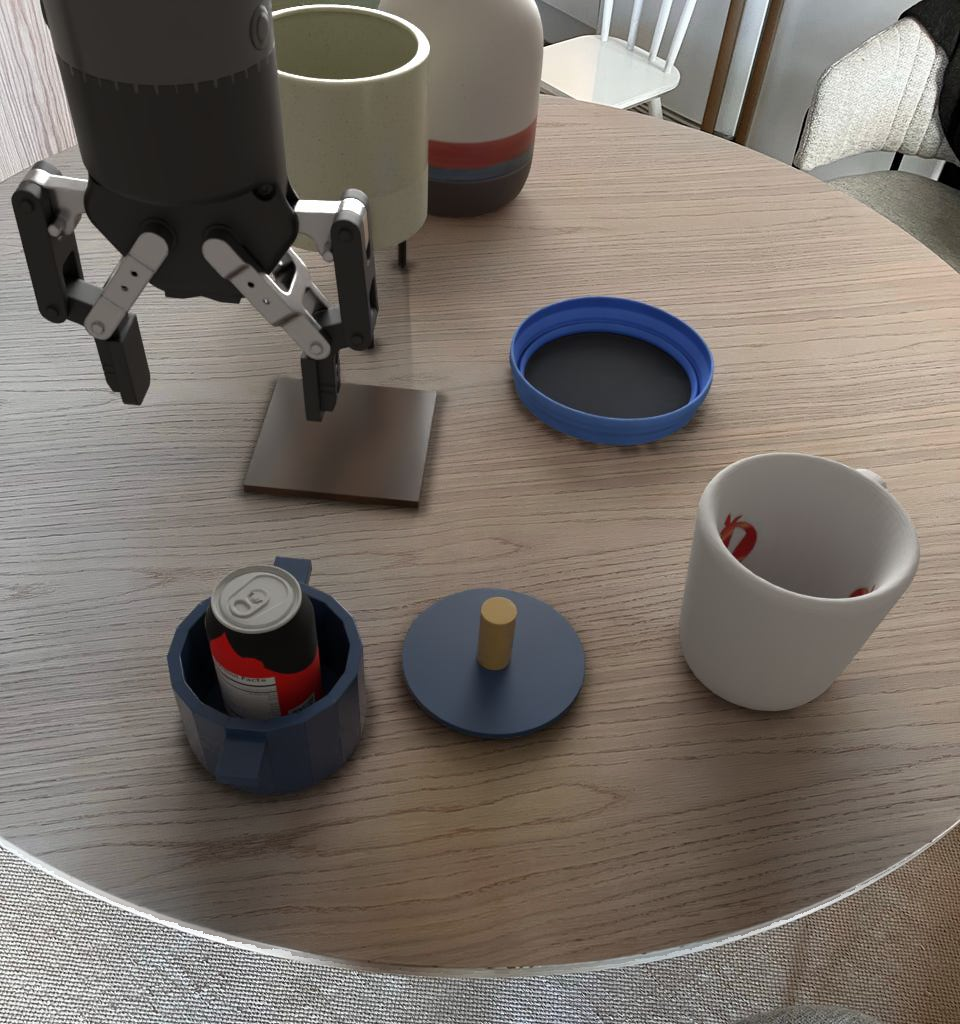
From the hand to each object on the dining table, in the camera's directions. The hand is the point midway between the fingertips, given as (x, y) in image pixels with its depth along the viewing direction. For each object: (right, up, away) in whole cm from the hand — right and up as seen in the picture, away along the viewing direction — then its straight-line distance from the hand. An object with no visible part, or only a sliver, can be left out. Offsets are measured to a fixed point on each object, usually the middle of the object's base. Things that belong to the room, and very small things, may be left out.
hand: (227, 402), depth 48 cm
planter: (-1, +22, +51) cm, 55 cm away
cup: (+33, -11, +27) cm, 44 cm away
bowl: (+23, +12, +44) cm, 51 cm away
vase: (+9, +38, +64) cm, 75 cm away
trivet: (+1, +5, +37) cm, 38 cm away
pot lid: (+13, -13, +23) cm, 29 cm away
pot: (-2, -16, +20) cm, 26 cm away
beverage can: (-2, -16, +20) cm, 26 cm away
